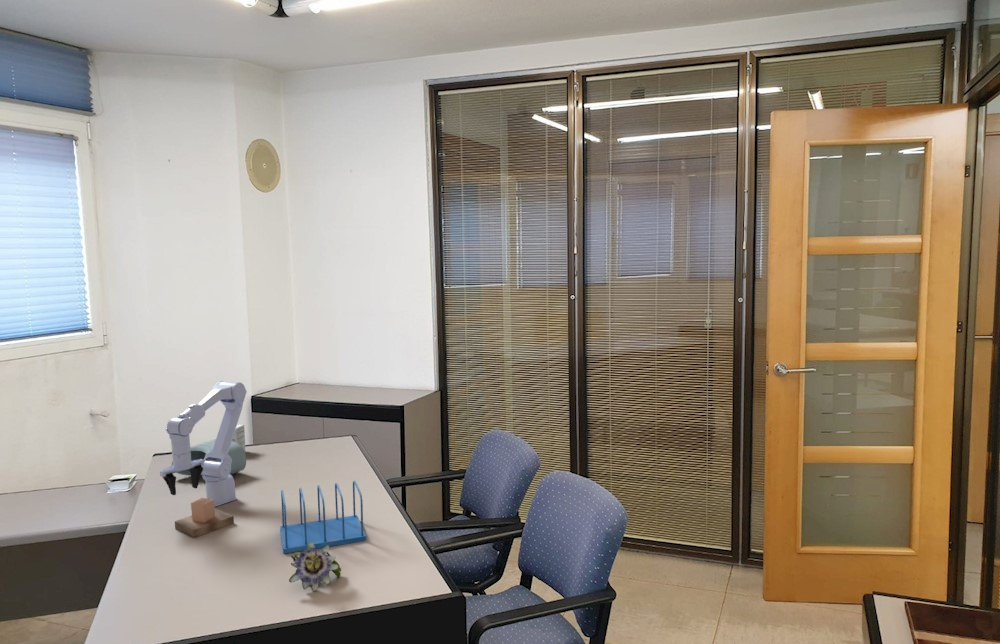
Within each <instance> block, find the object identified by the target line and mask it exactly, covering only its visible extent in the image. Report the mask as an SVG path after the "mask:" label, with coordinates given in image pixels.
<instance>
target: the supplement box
mask: <svg viewBox="0 0 1000 644" xmlns="http://www.w3.org/2000/svg"><path fill="white" fill-rule="evenodd" d="M245 433H246V432H245V424H238V423H237V426H236V429H235V432H234V436H233V439H232V441H233V442H236V443H238V444H240V445H241V446H242V447H243V449H244V451H245V452H246V436H245Z"/></svg>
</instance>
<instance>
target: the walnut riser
mask: <svg viewBox="0 0 1000 644" xmlns="http://www.w3.org/2000/svg"><path fill="white" fill-rule="evenodd" d="M234 523H235V518H234V515H232V514H229V513H227V512H225V511H222V510H221V509H218V508H216V507H215V517H213V518H212V519H210V520H208V521H206V522H198V521H192V515H189V516H186V517H184V518H180V519H177V520H175V521H174V529H176V530H178V531H179V532H180V533H184V534H186V535H188V536H190V537H191V538H195V539H196V538H197V537H201V536H202V535H203V536H204V535H206V534H208V533H211V532H214V531H216V530H219V529H221V528H225V527H228V526H230V525H232V524H234Z"/></svg>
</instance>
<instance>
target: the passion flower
mask: <svg viewBox="0 0 1000 644" xmlns="http://www.w3.org/2000/svg"><path fill="white" fill-rule="evenodd" d="M329 550H330V546H326V547H322V548H320V549H317V548H316V547H315V546H314V544H313V543H311V542H310V543H309V545H308V547H307V549H306V550H303V552H299V551H297V552H293V554H294V556H293V554H291V555H290V558H291V559H292V560H293V561H292V562H291V563H290V565H291V566H292V567H294V568H295V572H294V573H293V574H292V575H291V576H290V577H289V579H288V581H289V582H290V583H295V582H297V581H299V580H300V581H301V584H302V585H301V586H302V588H303V590H306V589H307V588H309V587H310V588H311V591H312V592H313V593H315V592H316V591H317V590H318V587H319V584H320V582H322V583H323V584H326V585H329V584H330V572H332V573H333V574H334V575H335V577H336V578H337V579H339V578H340V577H341V575H342V572H341V571H342V568H341V567H340V563H338V561H337V560H336V555H333V554H330V552H329Z"/></svg>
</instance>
